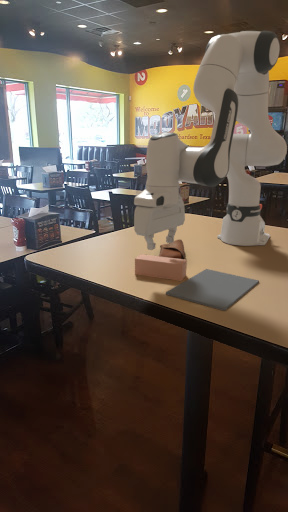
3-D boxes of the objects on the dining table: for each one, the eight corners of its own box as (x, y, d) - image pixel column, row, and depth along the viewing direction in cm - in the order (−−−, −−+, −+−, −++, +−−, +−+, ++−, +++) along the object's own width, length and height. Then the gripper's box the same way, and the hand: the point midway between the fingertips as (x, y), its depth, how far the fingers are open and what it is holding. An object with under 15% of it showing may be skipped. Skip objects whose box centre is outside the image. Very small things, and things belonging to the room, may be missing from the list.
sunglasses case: (158, 244, 133) (171, 230, 131) (173, 257, 134) (186, 243, 132) (156, 260, 116) (171, 244, 114) (174, 274, 117) (188, 259, 115)
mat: (206, 270, 112) (206, 268, 112) (258, 282, 103) (259, 280, 103) (165, 294, 95) (165, 292, 95) (224, 310, 86) (224, 308, 86)
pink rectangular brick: (140, 270, 114) (140, 254, 112) (186, 276, 109) (186, 259, 107) (134, 275, 110) (134, 258, 108) (181, 281, 105) (182, 264, 103)
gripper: (172, 191, 112) (170, 237, 116) (129, 199, 96) (129, 251, 100) (191, 193, 108) (189, 240, 112) (150, 201, 92) (149, 255, 96)
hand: (160, 245), depth 106 cm, fingers open, 8 cm apart
